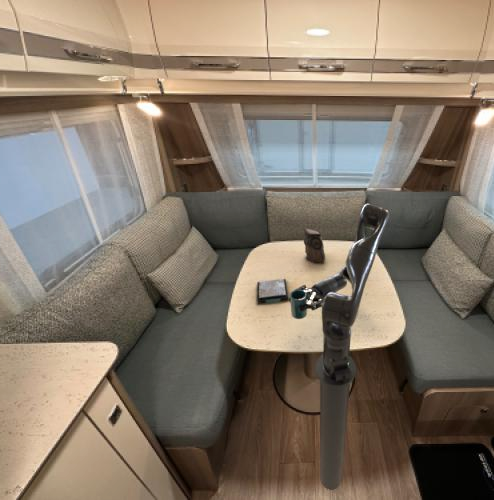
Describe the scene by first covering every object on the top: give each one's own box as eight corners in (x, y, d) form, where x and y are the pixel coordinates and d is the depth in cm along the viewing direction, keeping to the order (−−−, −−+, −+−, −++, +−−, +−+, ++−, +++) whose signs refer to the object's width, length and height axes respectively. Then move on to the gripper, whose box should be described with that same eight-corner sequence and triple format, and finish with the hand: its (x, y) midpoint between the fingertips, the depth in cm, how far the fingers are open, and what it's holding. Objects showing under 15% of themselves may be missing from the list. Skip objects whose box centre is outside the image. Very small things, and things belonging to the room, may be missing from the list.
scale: (288, 301, 133) (288, 296, 131) (257, 305, 130) (257, 300, 129) (285, 282, 146) (285, 277, 144) (257, 285, 143) (257, 280, 142)
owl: (324, 264, 160) (324, 235, 150) (303, 264, 160) (302, 235, 150) (324, 253, 171) (324, 225, 161) (304, 253, 171) (303, 225, 161)
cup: (308, 317, 109) (307, 299, 104) (292, 320, 108) (290, 301, 103) (305, 306, 115) (305, 288, 110) (290, 309, 114) (289, 290, 109)
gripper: (315, 274, 119) (283, 288, 110) (336, 289, 110) (304, 307, 101) (315, 287, 123) (285, 302, 114) (336, 303, 113) (304, 321, 104)
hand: (294, 304), depth 107 cm, fingers closed on cup, 6 cm apart
